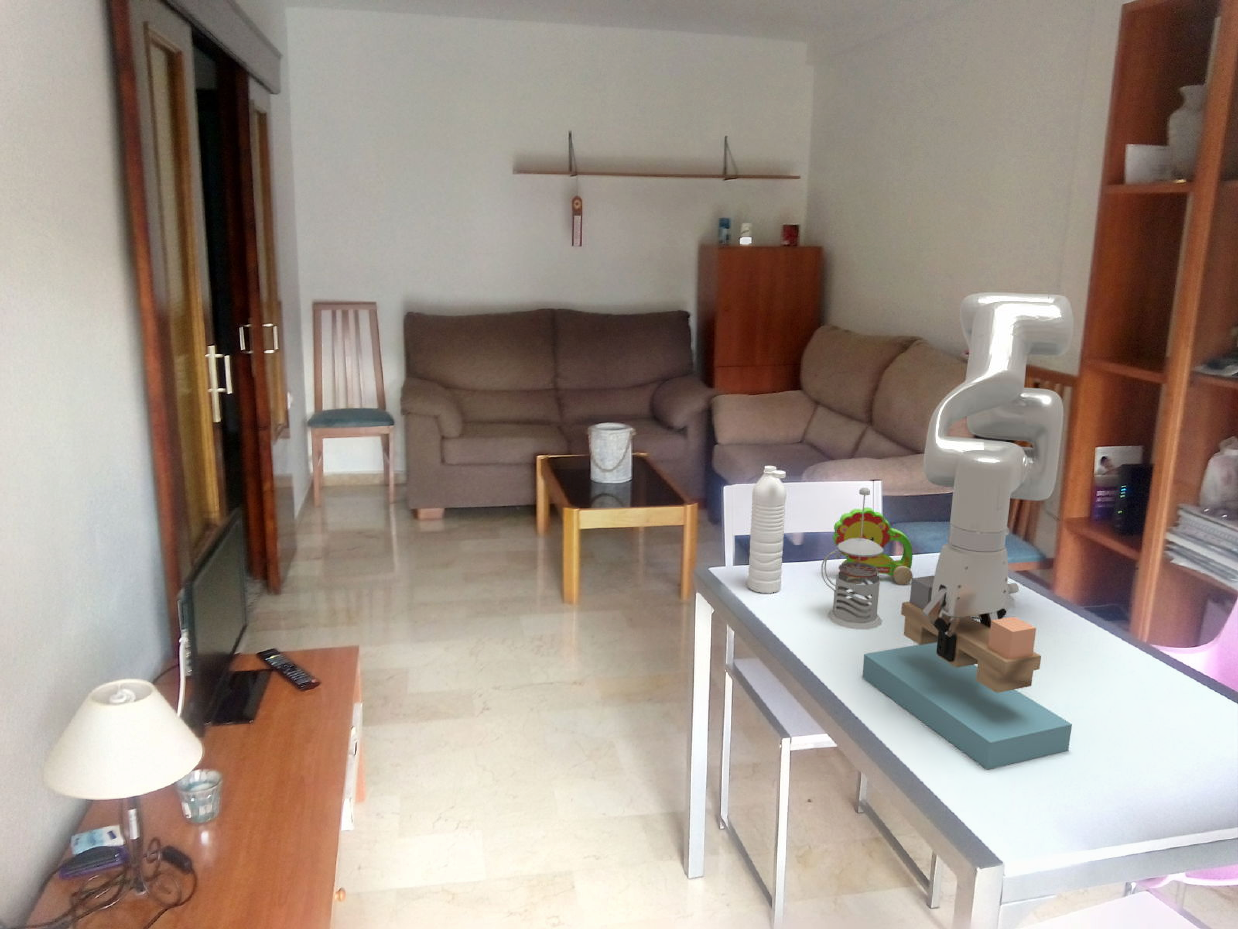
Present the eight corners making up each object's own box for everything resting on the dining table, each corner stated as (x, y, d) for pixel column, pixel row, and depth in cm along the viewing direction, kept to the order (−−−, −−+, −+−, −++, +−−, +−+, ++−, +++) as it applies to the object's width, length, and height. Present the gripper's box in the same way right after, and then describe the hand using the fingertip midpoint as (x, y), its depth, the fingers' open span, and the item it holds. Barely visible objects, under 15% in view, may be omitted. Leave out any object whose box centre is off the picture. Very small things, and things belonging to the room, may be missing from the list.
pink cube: (1010, 643, 130) (1014, 616, 129) (1032, 655, 126) (1036, 627, 125) (988, 647, 128) (991, 620, 127) (1009, 659, 125) (1012, 631, 124)
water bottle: (743, 583, 188) (748, 463, 182) (773, 581, 189) (779, 461, 183) (758, 599, 180) (765, 474, 173) (790, 597, 181) (797, 472, 175)
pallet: (931, 627, 147) (934, 597, 146) (1036, 689, 127) (1041, 655, 126) (899, 632, 145) (902, 602, 144) (1002, 696, 125) (1006, 662, 124)
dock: (934, 663, 153) (936, 641, 152) (1068, 750, 128) (1072, 724, 127) (862, 677, 149) (864, 654, 148) (987, 769, 123) (990, 742, 122)
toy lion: (906, 576, 193) (912, 506, 189) (912, 586, 187) (919, 514, 184) (828, 574, 194) (833, 503, 190) (832, 583, 188) (837, 511, 185)
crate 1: (930, 599, 145) (933, 575, 144) (948, 609, 142) (950, 584, 141) (909, 602, 144) (911, 578, 143) (926, 612, 140) (929, 587, 139)
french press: (873, 633, 165) (884, 498, 159) (810, 619, 171) (819, 488, 165) (889, 615, 173) (900, 485, 167) (828, 602, 179) (837, 476, 173)
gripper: (1005, 524, 138) (992, 636, 142) (909, 535, 132) (898, 652, 136) (1044, 539, 131) (1029, 656, 136) (944, 552, 125) (932, 674, 130)
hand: (963, 653), depth 136 cm, fingers closed on pallet, 6 cm apart
